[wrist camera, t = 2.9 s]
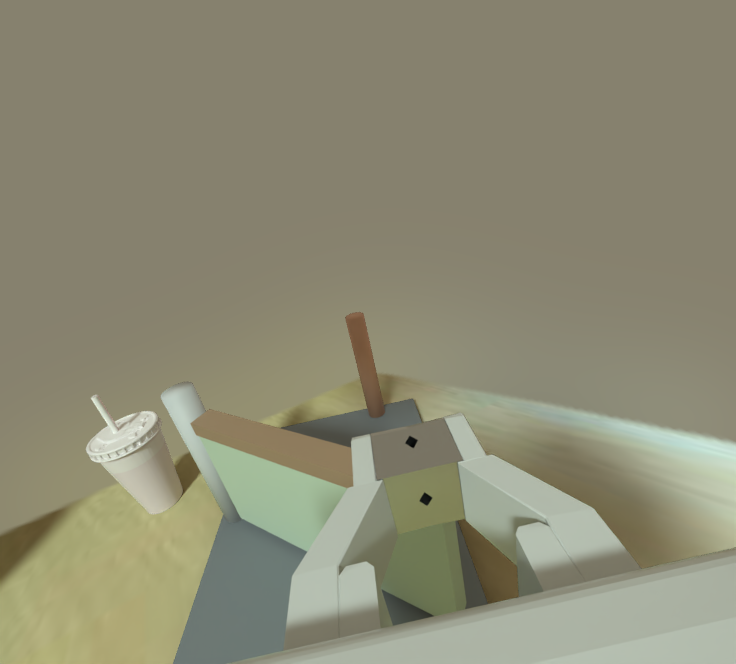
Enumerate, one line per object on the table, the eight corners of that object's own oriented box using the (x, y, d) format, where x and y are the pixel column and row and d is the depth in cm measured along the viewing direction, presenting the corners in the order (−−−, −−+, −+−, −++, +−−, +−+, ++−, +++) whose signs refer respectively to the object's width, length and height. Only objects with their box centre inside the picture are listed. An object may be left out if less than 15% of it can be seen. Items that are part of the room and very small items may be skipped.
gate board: (171, 700, 22) (29, 547, 16) (253, 441, 44) (207, 335, 38) (494, 628, 22) (478, 448, 16) (414, 406, 44) (394, 294, 38)
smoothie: (145, 486, 40) (81, 387, 35) (201, 468, 41) (147, 369, 36) (122, 535, 34) (42, 425, 29) (188, 513, 35) (122, 403, 30)
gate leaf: (239, 519, 31) (190, 423, 27) (254, 502, 32) (209, 409, 28) (459, 631, 20) (437, 503, 16) (467, 600, 22) (449, 474, 17)
